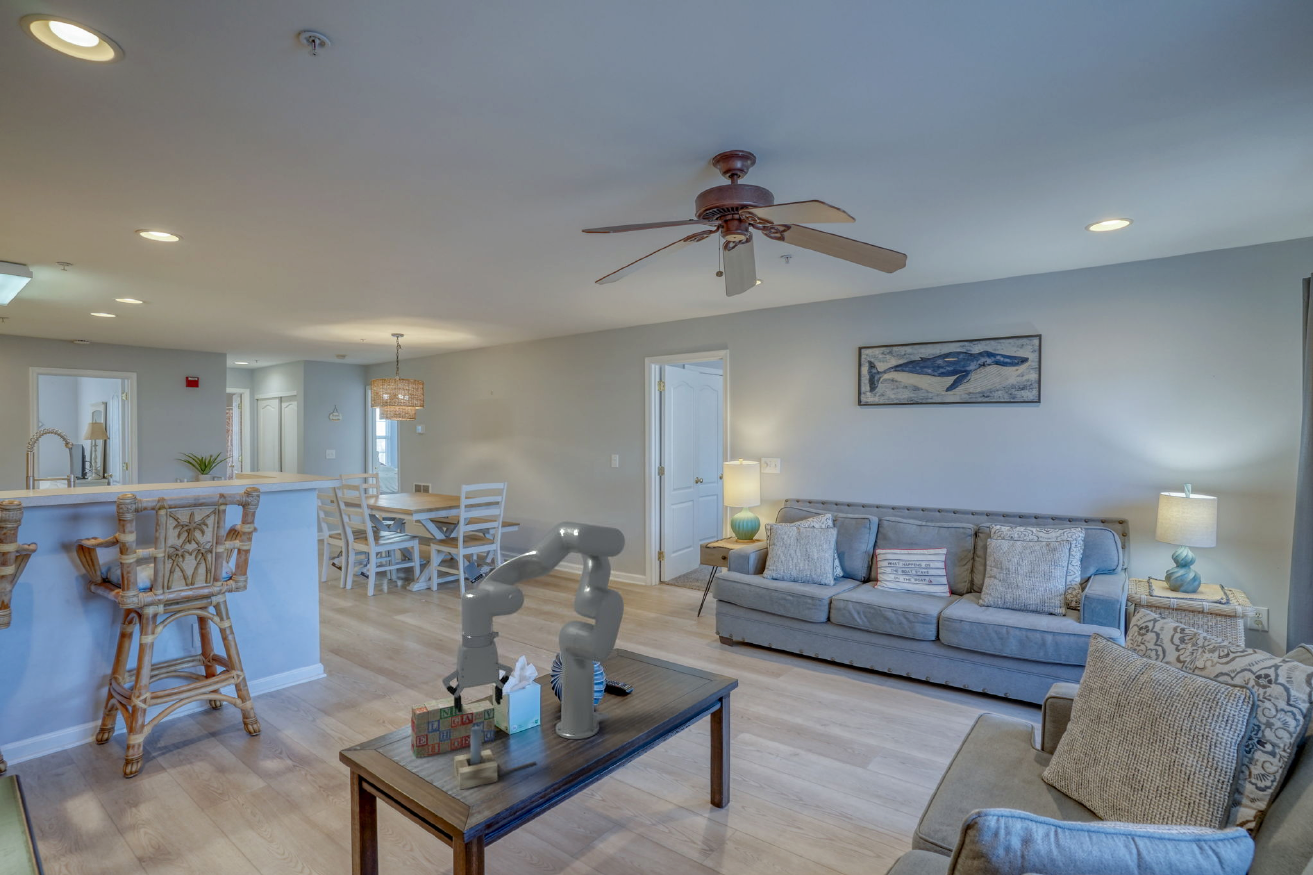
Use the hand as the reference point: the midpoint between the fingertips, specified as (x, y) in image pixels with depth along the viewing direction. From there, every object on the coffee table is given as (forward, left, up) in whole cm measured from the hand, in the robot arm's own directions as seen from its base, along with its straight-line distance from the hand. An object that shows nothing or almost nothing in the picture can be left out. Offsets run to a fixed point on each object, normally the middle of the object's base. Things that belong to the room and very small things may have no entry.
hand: (478, 706), depth 161 cm
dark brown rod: (-10, +1, -17) cm, 20 cm away
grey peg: (+1, 0, -17) cm, 17 cm away
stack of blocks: (+3, -20, -18) cm, 27 cm away
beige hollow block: (+1, 0, -17) cm, 17 cm away
